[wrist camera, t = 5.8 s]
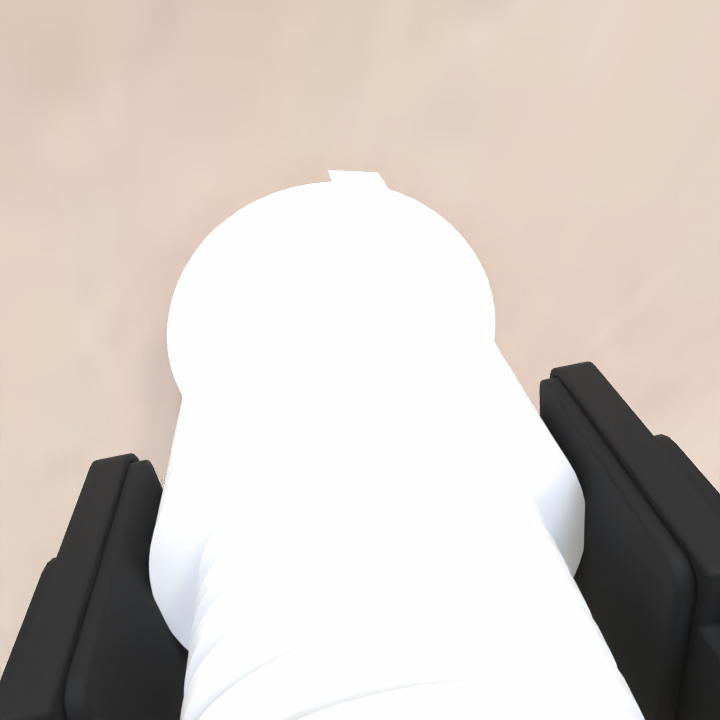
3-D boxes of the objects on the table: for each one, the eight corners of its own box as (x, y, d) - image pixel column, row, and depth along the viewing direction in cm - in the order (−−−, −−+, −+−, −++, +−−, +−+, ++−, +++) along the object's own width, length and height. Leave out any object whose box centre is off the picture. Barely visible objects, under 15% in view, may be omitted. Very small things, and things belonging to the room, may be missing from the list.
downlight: (459, 475, 17) (656, 992, 8) (181, 479, 16) (74, 1073, 7) (521, 162, 13) (1033, 530, 4) (155, 142, 12) (-151, 568, 3)
